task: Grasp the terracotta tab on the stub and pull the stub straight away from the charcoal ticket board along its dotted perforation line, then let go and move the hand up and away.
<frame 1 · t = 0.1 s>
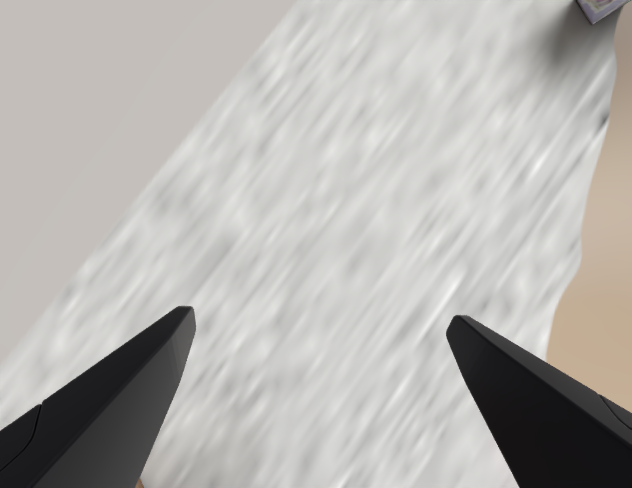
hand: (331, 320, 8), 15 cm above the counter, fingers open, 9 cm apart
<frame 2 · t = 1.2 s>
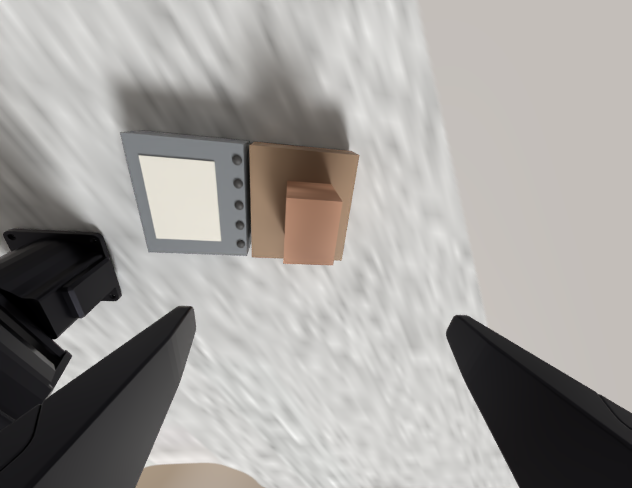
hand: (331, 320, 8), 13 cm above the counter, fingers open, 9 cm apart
stub: (301, 213, 17), point 3 cm above the counter, slide at 0.0 cm
ticket board: (254, 196, 19), on the counter
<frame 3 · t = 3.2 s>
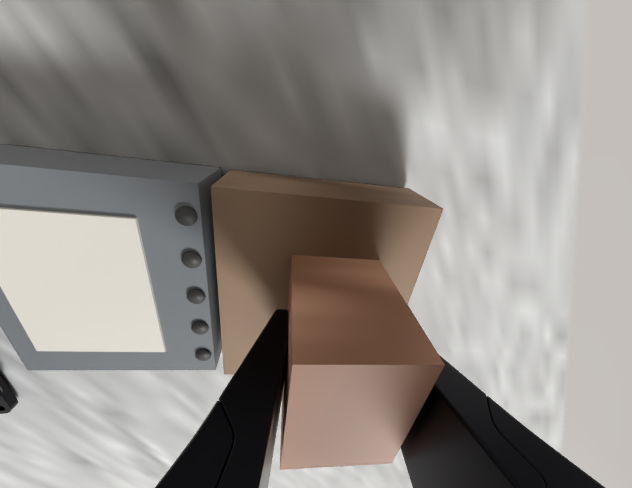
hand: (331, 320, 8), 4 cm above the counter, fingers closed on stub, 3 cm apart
stub: (319, 318, 8), point 3 cm above the counter, slide at 0.0 cm, touching gripper
ticket board: (232, 260, 11), on the counter
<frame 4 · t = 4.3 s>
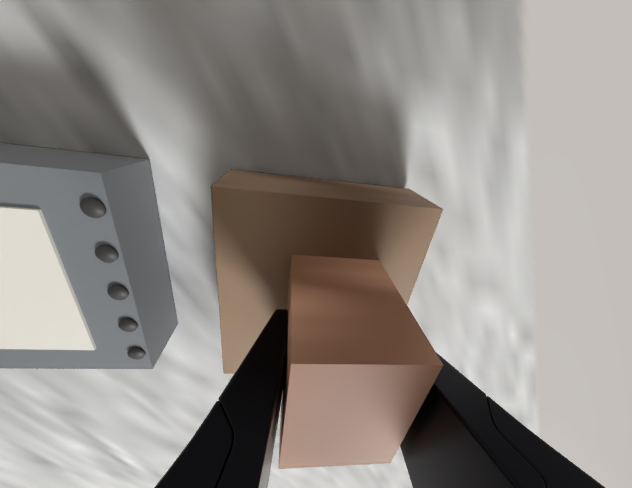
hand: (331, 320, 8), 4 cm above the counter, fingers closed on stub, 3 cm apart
stub: (319, 318, 8), point 3 cm above the counter, slide at 2.5 cm, touching gripper
ticket board: (173, 255, 11), on the counter
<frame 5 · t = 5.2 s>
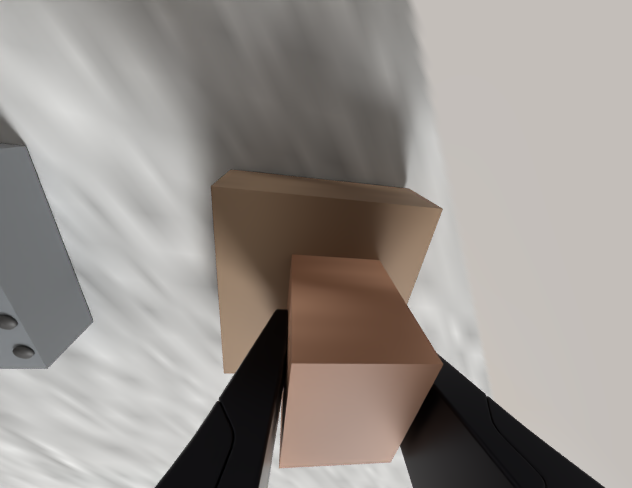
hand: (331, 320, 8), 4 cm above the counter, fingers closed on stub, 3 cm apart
stub: (319, 317, 8), point 3 cm above the counter, slide at 6.4 cm, touching gripper
ticket board: (73, 250, 10), on the counter
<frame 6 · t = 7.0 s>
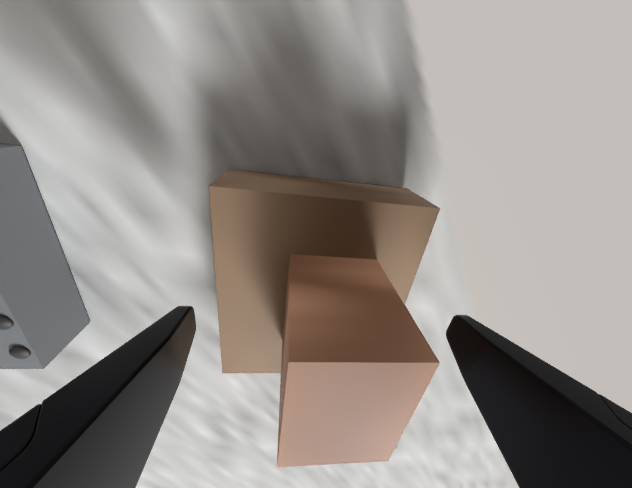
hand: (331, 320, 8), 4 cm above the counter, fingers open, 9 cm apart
stub: (317, 317, 8), point 3 cm above the counter, slide at 6.4 cm
ticket board: (70, 250, 10), on the counter
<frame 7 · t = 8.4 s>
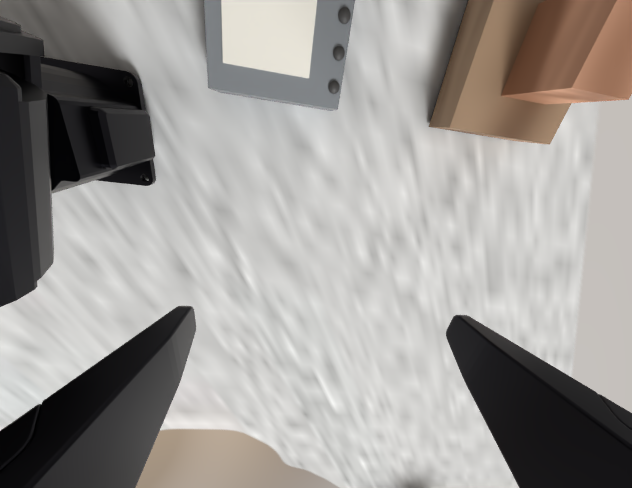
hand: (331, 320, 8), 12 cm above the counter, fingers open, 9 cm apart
stub: (548, 53, 13), point 3 cm above the counter, slide at 6.4 cm
ticket board: (347, 34, 14), on the counter
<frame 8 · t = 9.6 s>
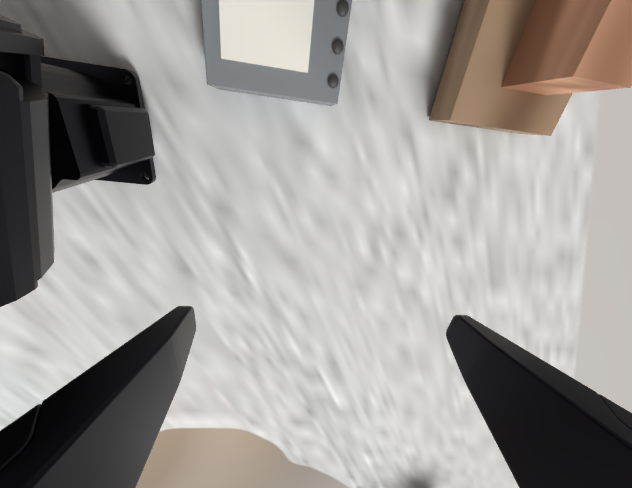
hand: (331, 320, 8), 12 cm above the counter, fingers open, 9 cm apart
stub: (549, 43, 12), point 3 cm above the counter, slide at 6.4 cm
ticket board: (346, 28, 14), on the counter
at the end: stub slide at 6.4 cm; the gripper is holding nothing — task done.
